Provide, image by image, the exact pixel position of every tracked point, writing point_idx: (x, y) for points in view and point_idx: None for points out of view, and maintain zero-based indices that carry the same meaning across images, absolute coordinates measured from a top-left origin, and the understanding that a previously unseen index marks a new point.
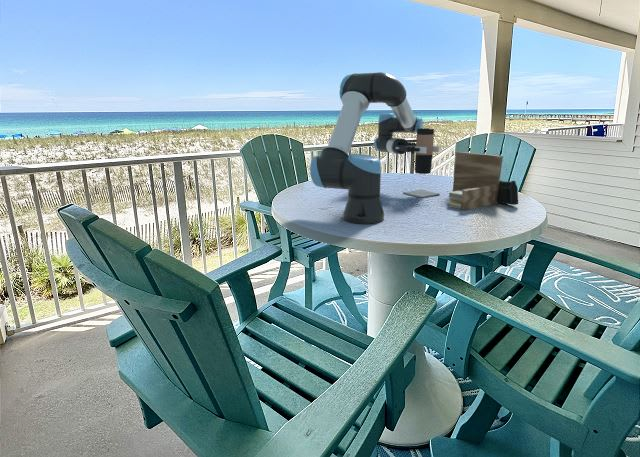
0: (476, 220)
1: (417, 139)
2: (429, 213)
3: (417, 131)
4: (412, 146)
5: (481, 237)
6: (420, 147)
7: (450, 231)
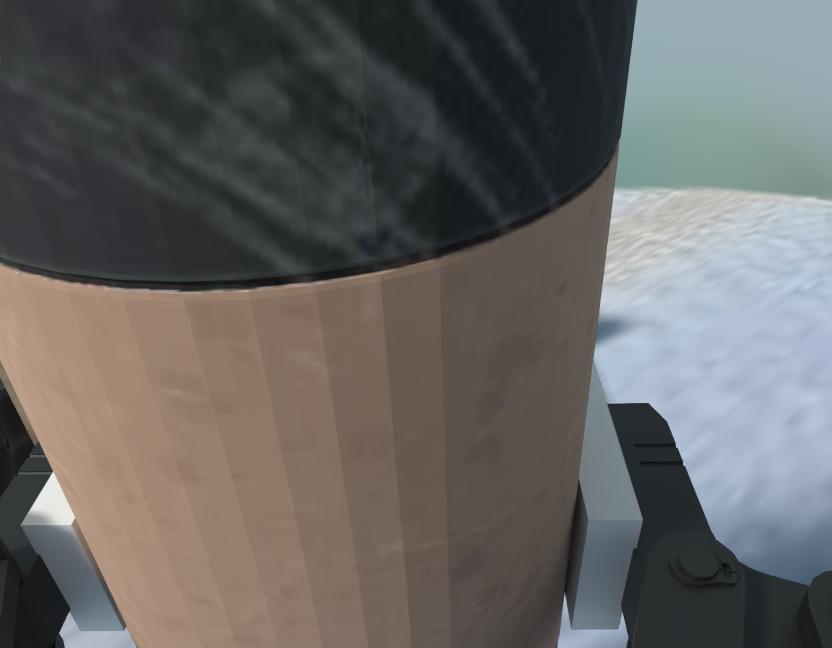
0: (606, 273)
1: (597, 323)
2: (762, 396)
3: (620, 25)
4: (722, 560)
5: (727, 202)
6: (593, 375)
7: (802, 247)
